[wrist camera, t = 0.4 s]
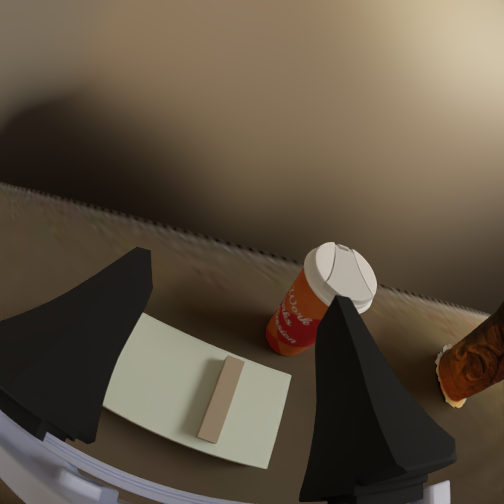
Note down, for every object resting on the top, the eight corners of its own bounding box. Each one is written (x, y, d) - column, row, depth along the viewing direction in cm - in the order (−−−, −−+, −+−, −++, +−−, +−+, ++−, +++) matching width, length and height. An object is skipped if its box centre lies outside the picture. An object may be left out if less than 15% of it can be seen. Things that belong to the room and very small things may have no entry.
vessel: (421, 356, 38) (511, 288, 24) (450, 336, 44) (520, 279, 30) (448, 423, 29) (546, 371, 15) (474, 391, 36) (549, 342, 22)
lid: (262, 468, 19) (273, 469, 17) (76, 388, 18) (67, 381, 16) (287, 377, 26) (298, 370, 24) (124, 307, 25) (122, 293, 23)
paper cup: (259, 304, 35) (308, 228, 26) (312, 317, 37) (372, 251, 27) (253, 359, 30) (312, 296, 20) (312, 369, 31) (387, 315, 21)
